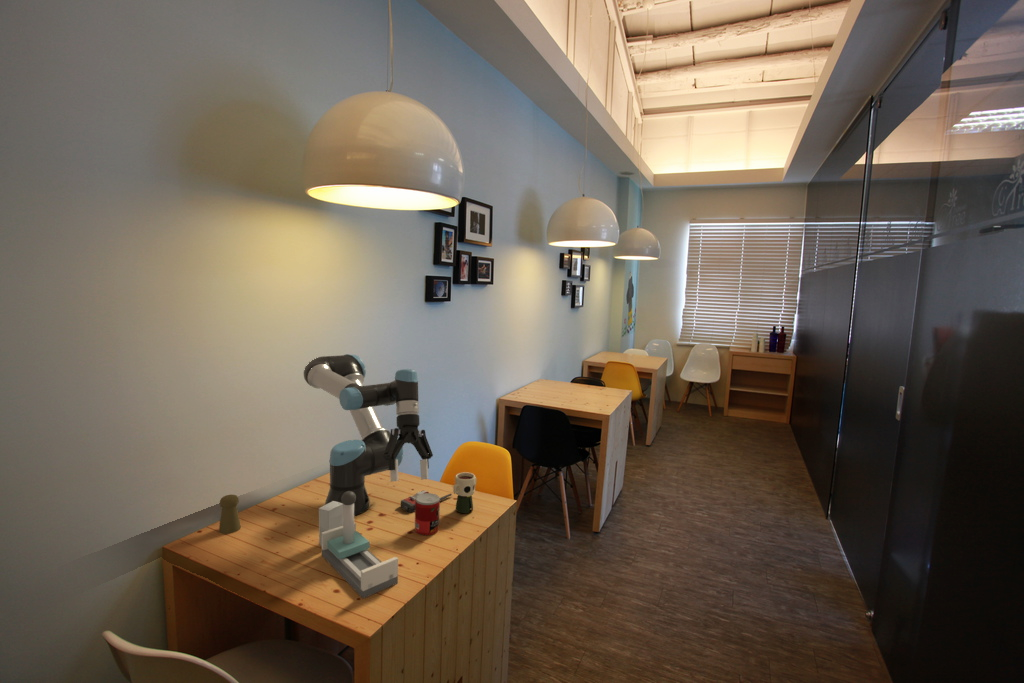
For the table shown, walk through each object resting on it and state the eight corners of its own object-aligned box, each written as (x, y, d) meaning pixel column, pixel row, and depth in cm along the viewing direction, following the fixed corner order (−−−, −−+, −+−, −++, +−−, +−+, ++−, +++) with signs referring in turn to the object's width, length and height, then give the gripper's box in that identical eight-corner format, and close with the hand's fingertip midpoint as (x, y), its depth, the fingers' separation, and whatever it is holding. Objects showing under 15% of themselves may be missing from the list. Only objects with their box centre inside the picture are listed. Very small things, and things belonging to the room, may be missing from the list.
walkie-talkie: (412, 516, 166) (453, 498, 182) (412, 504, 165) (453, 487, 181) (396, 508, 171) (437, 492, 187) (396, 497, 171) (437, 481, 187)
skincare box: (333, 536, 150) (333, 500, 149) (343, 539, 148) (343, 503, 147) (318, 545, 145) (318, 507, 143) (328, 549, 143) (328, 511, 142)
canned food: (434, 537, 152) (434, 504, 151) (410, 533, 154) (411, 501, 153) (442, 526, 160) (443, 494, 158) (420, 522, 161) (420, 491, 160)
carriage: (327, 547, 137) (327, 491, 136) (356, 537, 144) (357, 483, 142) (339, 559, 132) (339, 500, 130) (369, 548, 138) (370, 492, 136)
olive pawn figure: (216, 528, 152) (215, 495, 151) (237, 522, 156) (236, 490, 155) (222, 536, 148) (221, 502, 147) (243, 529, 152) (242, 496, 151)
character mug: (459, 519, 165) (461, 483, 163) (446, 512, 169) (447, 477, 168) (481, 509, 173) (483, 474, 172) (468, 502, 178) (469, 469, 176)
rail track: (321, 555, 140) (321, 532, 139) (353, 543, 146) (354, 522, 146) (362, 598, 121) (363, 572, 120) (397, 583, 128) (398, 558, 127)
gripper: (387, 410, 148) (389, 480, 142) (440, 415, 168) (444, 477, 162) (371, 414, 152) (372, 483, 146) (425, 419, 172) (427, 479, 166)
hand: (410, 480), depth 154 cm, fingers open, 13 cm apart
